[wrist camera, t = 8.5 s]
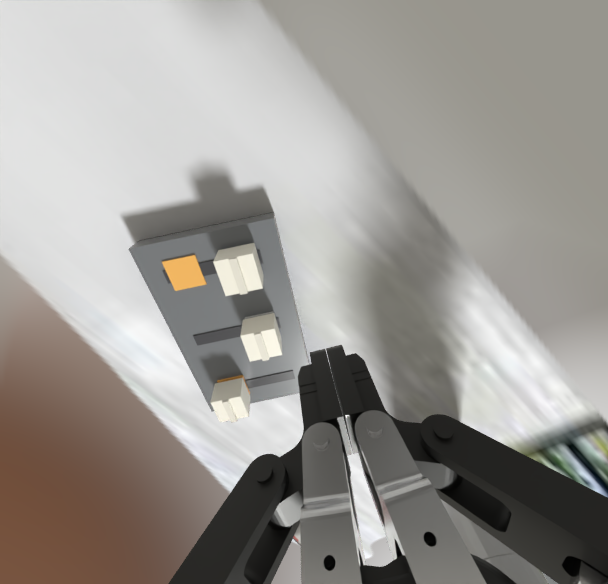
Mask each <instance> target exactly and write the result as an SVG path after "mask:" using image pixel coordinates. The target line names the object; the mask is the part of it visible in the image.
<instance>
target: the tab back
mask: <svg viewBox="0 0 608 584" xmlns="http://www.w3.org/2000/svg"><path fill="white" fill-rule="evenodd" d="M211 405H212V407H213V409H214V411H215V413H216V415H217V417H218V419H219V421H220V422H225V421H229V420H230V421H231V423H232V422H236V421H237V419H239V418H243V417H248V416H249V410H250V395H249V392H248V390H247V387H246V385H245V382H244V380H243V378H239V379H234V380H229V381H225V382H220V383H215V385H214V389H213V394H212V398H211Z"/></svg>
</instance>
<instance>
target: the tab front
mask: <svg viewBox="0 0 608 584" xmlns="http://www.w3.org/2000/svg"><path fill="white" fill-rule="evenodd" d="M213 263H214V266H215V269H216V271H217V274H218V277H219V279H220V282H221V285H222V287H223V290H224V293H225V296H229V295H234V294H239V293H240V295H242V294H247V293H248V291H253V290H258V289H262V288H263V276H264V275H263V271H262V268H261V264H260V261H259V257H258V254H257V250H256V247H255V243H250V244H245V245H241V246H236V247H231V248H227V249H222V250H218V252H217V254H216V257H215V259H214V261H213Z"/></svg>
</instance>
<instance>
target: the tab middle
mask: <svg viewBox="0 0 608 584" xmlns="http://www.w3.org/2000/svg"><path fill="white" fill-rule="evenodd" d="M240 336H241V339H242V342H243V344H244V347H245V350H246V353H247V355H248V358H249V361H250V362H251V361H256V360H260V359H262V361H266V360H269V358H270V357H274V356H279V355H282V341H281V335H280V332H279V328H278V324H277V321H276V317H275V314H274V313H272V314H267V315H262V316H258V317H253V318H248V319H244V320H243V322H242V328H241V335H240Z"/></svg>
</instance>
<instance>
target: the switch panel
mask: <svg viewBox="0 0 608 584" xmlns="http://www.w3.org/2000/svg"><path fill="white" fill-rule="evenodd" d="M250 243H255V247H256V250H257V254H258V257H259V261H260V264H261V268H262V271H263V275H264V276H263V288H262V289H258V290H253V291H248V293H247V294H242V295H240V293H239V294H234V295H229V296H225V293H224V290H223V287H222V285H221V282H220V279H219V277H218V274H217V271H216V269H215V266H214V263H213V261H214V259H215V257H216V254H217V252H218V250H222V249H227V248H231V247H236V246H241V245H245V244H250ZM129 251H130V253H131V255H132V257H133V259H134V260H135V262H136V264H137V266H138V268H139V270H140V272H141V274H142V276H143V278H144V280H145V282H146V284H147V286H148V288H149V290H150V292H151V294H152V296H153V298H154V299H155V301H156V303H157V305H158V307H159V309H160V311H161V313H162V315H163V317H164V319H165V321H166V323H167V325H168V327H169V329H170V331H171V333H172V335H173V337H174V338H175V340H176V342H177V344H178V346H179V348H180V350H181V352H182V354H183V356H184V358H185V360H186V362H187V364H188V366H189V368H190V370H191V372H192V374H193V376H194V377H195V379H196V381H197V383H198V385H199V387H200V389H201V391H202V393H203V395H204V397H205V399H206V401H207V403H208V405H209V407H210V409H211V411H214V409H213V407H212V405H211V398H212V394H213V389H214V385H215V383H220V382H225V381H229V380H234V379H239V378H243V380H244V382H245V385H246V387H247V390H248V392H249V395H250V403H254V402H259V401H264V400H269V399H273V398H278V397H283V396H287V395H292V394H297V393H300V392H299V384H298V374H299V371H300V368H301V367H302V366H306V365H310V364H309V360H308V356H307V351H306V347H305V343H304V339H303V334H302V330H301V326H300V322H299V317H298V313H297V309H296V305H295V300H294V296H293V292H292V288H291V283H290V279H289V275H288V271H287V266H286V262H285V258H284V254H283V249H282V245H281V241H280V237H279V232H278V228H277V224H276V220H275V215H274V212H273V213H268V214H263V215H259V216H254V217H249V218H244V219H240V220H235V221H230V222H226V223H221V224H216V225H212V226H207V227H202V228H198V229H193V230H188V231H183V232H179V233H174V234H169V235H165V236H160V237H155V238H151V239H146V240H141V241H138V242H137V243H135V244H134V245H133V246H132V247H130V248H129ZM272 313H274V314H275V317H276V321H277V324H278V328H279V332H280V335H281V341H282V355H279V356H274V357H270V358H269V360H266V361H262V359H260V360H256V361H251V362H250V361H249V358H248V355H247V353H246V350H245V347H244V344H243V342H242V339H241V336H240V335H241V328H242V322H243V320H244V319H248V318H253V317H258V316H262V315H267V314H272Z"/></svg>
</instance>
